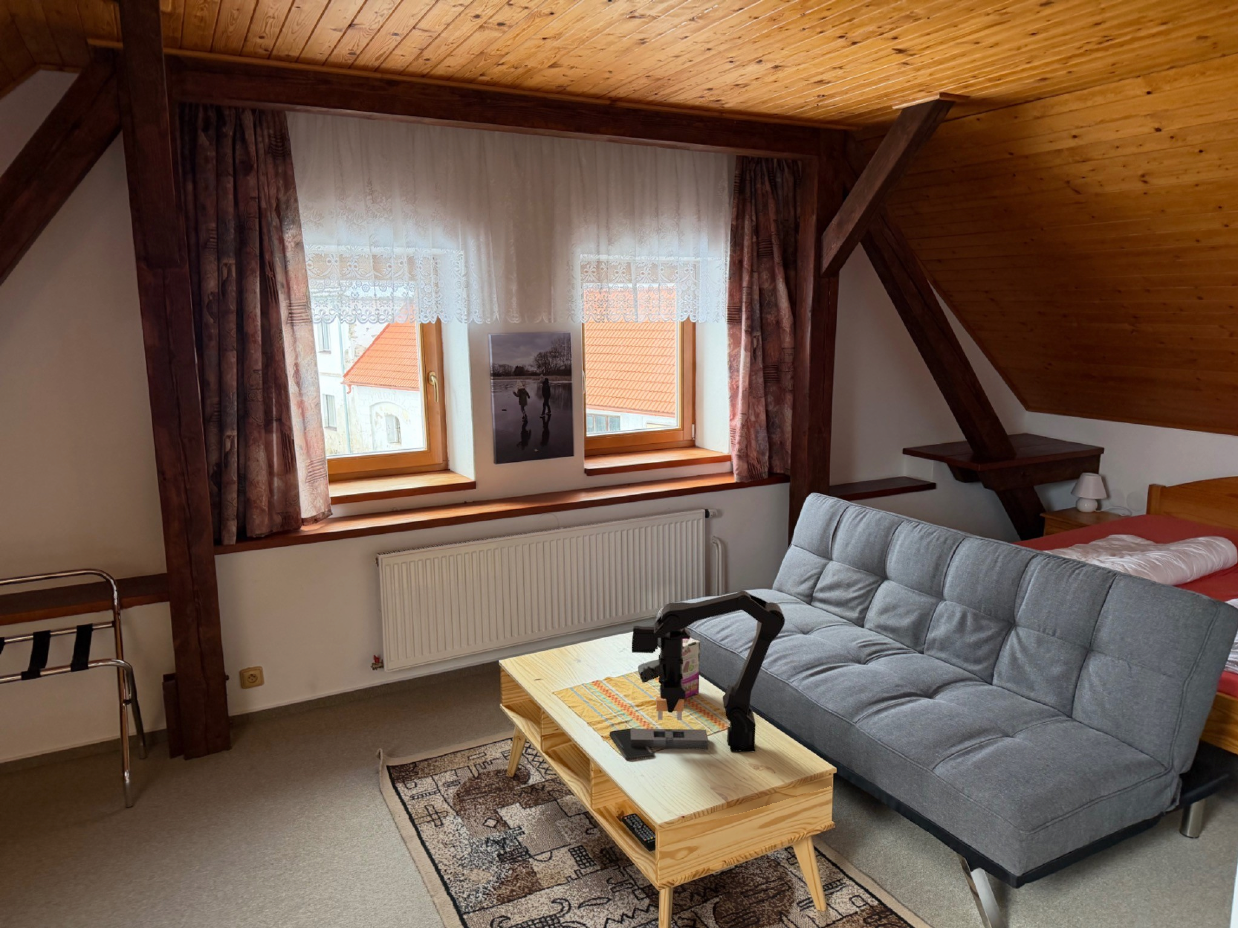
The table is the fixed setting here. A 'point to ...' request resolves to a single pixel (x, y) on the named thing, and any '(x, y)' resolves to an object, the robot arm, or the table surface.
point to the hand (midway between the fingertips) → (670, 709)
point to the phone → (629, 746)
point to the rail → (669, 738)
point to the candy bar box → (691, 666)
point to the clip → (662, 706)
